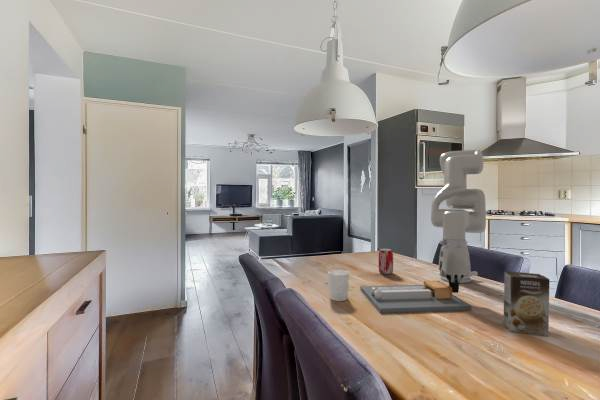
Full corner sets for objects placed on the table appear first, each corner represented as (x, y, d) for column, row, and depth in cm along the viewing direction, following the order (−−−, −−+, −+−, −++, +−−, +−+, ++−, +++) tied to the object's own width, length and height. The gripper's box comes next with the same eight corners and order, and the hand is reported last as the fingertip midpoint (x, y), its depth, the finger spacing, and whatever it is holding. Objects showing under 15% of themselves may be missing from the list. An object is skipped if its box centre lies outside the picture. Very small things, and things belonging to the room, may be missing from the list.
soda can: (394, 274, 144) (394, 250, 144) (380, 274, 144) (380, 250, 144) (390, 271, 151) (390, 248, 151) (377, 271, 151) (377, 248, 151)
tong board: (434, 287, 123) (434, 277, 123) (471, 309, 99) (471, 297, 99) (360, 289, 121) (360, 279, 121) (380, 312, 97) (379, 300, 97)
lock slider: (438, 290, 115) (438, 280, 115) (452, 298, 106) (452, 287, 106) (423, 290, 114) (423, 281, 114) (436, 298, 105) (436, 288, 105)
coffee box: (510, 332, 83) (510, 276, 83) (502, 322, 89) (503, 270, 89) (549, 336, 80) (550, 279, 80) (539, 327, 86) (539, 273, 86)
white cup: (324, 298, 111) (324, 272, 111) (336, 293, 117) (336, 268, 117) (341, 303, 106) (341, 276, 106) (353, 298, 112) (352, 272, 112)
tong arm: (422, 291, 113) (422, 285, 113) (426, 294, 110) (426, 287, 110) (370, 293, 111) (370, 287, 111) (372, 295, 109) (372, 289, 109)
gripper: (440, 245, 106) (440, 295, 106) (479, 244, 107) (479, 294, 107) (429, 242, 113) (429, 289, 113) (466, 241, 114) (466, 288, 115)
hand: (453, 291), depth 110 cm, fingers closed
